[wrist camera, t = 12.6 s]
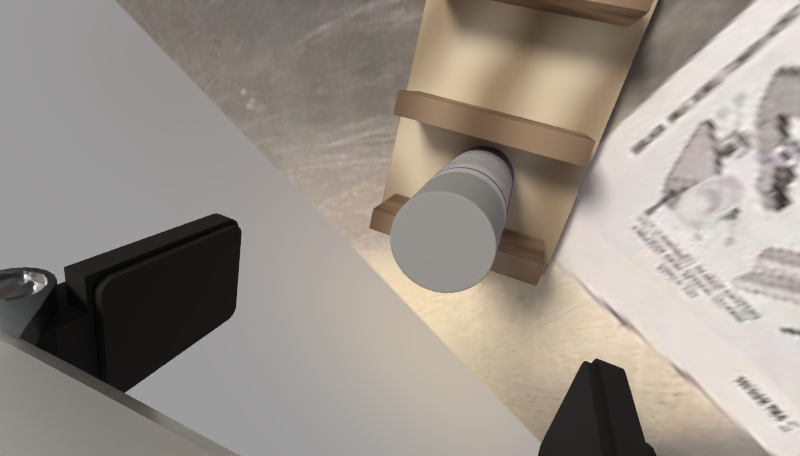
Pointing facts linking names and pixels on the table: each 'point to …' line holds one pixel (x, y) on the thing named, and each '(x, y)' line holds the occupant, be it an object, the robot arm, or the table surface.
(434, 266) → the container
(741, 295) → the table surface
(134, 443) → the robot arm
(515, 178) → the slot rack
